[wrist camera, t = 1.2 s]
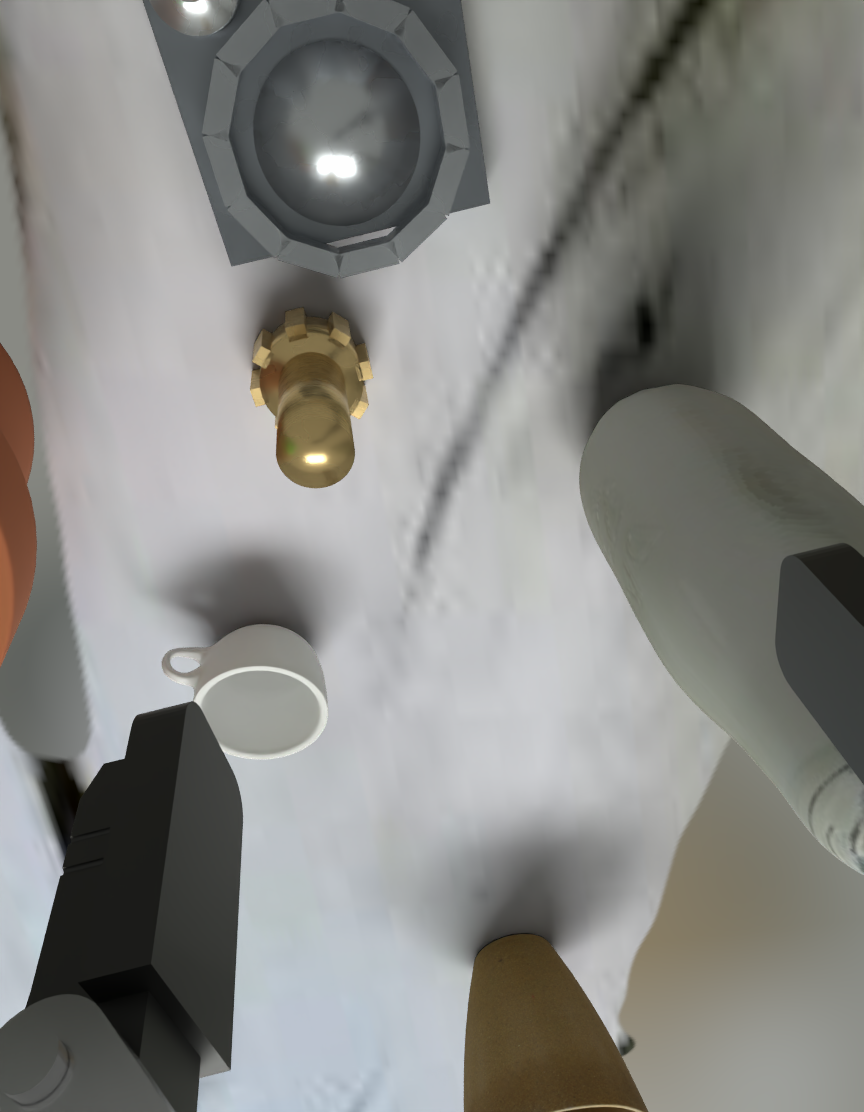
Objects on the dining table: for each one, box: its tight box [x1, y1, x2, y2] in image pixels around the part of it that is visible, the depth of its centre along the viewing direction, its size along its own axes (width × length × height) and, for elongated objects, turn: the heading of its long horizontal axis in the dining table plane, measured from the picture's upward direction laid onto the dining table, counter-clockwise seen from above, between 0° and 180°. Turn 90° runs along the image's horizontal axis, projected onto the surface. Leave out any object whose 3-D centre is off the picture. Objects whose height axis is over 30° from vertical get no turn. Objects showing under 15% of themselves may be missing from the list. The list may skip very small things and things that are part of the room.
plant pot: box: [464, 934, 648, 1112], centre depth 70 cm, size 15×15×16 cm
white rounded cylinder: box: [579, 384, 864, 875], centre depth 35 cm, size 10×10×28 cm
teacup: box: [162, 624, 328, 759], centre depth 49 cm, size 10×8×5 cm
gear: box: [250, 307, 373, 488], centre depth 38 cm, size 6×6×10 cm
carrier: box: [143, 0, 490, 278], centre depth 33 cm, size 12×13×6 cm
